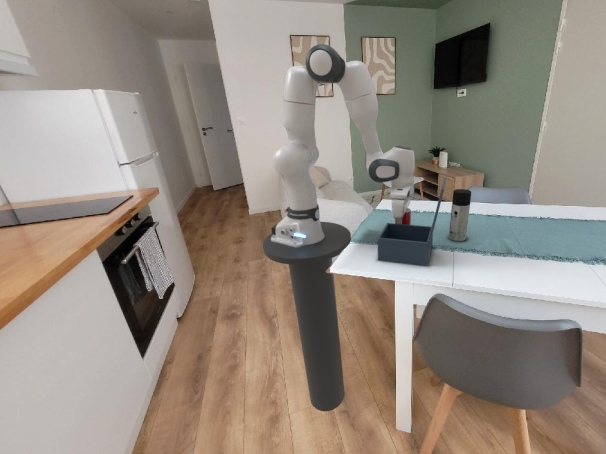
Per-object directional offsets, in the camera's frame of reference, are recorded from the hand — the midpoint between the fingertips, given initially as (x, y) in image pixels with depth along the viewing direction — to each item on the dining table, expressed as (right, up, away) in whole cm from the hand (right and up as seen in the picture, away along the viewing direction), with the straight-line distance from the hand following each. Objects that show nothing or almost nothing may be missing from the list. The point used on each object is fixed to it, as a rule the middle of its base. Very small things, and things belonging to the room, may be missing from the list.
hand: (401, 221), depth 119 cm
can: (+1, -7, +3) cm, 7 cm away
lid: (+9, +4, -21) cm, 23 cm away
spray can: (+23, -7, 0) cm, 24 cm away
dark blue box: (0, -12, -11) cm, 16 cm away
